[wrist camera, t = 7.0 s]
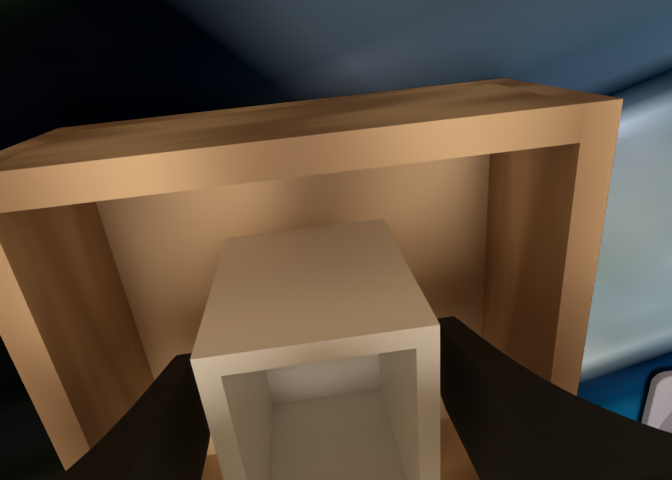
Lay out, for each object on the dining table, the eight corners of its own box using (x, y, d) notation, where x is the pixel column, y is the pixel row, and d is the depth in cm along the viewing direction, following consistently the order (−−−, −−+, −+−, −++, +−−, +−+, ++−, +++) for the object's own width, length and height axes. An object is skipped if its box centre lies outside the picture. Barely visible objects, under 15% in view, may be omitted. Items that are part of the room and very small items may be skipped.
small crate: (382, 218, 15) (440, 324, 9) (392, 387, 18) (440, 545, 12) (226, 238, 14) (189, 359, 9) (261, 406, 17) (251, 576, 12)
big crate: (504, 77, 14) (623, 98, 9) (487, 408, 20) (555, 532, 15) (58, 127, 14) (-74, 180, 9) (170, 456, 19) (129, 604, 14)
